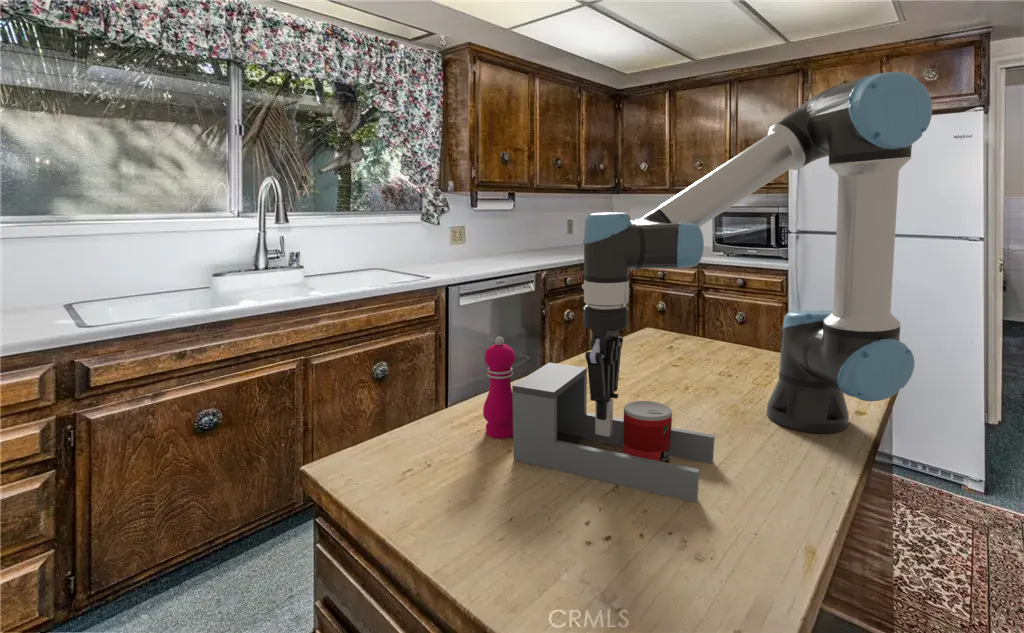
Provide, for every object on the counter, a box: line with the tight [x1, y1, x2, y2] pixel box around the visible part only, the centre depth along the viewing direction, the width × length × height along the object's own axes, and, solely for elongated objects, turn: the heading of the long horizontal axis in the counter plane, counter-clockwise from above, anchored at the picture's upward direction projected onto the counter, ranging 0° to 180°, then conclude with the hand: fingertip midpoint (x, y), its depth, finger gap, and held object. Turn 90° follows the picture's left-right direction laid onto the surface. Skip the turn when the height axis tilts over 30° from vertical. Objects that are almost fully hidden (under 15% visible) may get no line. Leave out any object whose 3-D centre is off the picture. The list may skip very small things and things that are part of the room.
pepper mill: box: [482, 336, 516, 440], centre depth 112 cm, size 7×7×20 cm
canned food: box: [622, 400, 673, 463], centre depth 98 cm, size 8×8×11 cm
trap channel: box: [511, 362, 716, 503], centre depth 100 cm, size 32×15×14 cm, turn 62°
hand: (603, 433), depth 101 cm, fingers closed
